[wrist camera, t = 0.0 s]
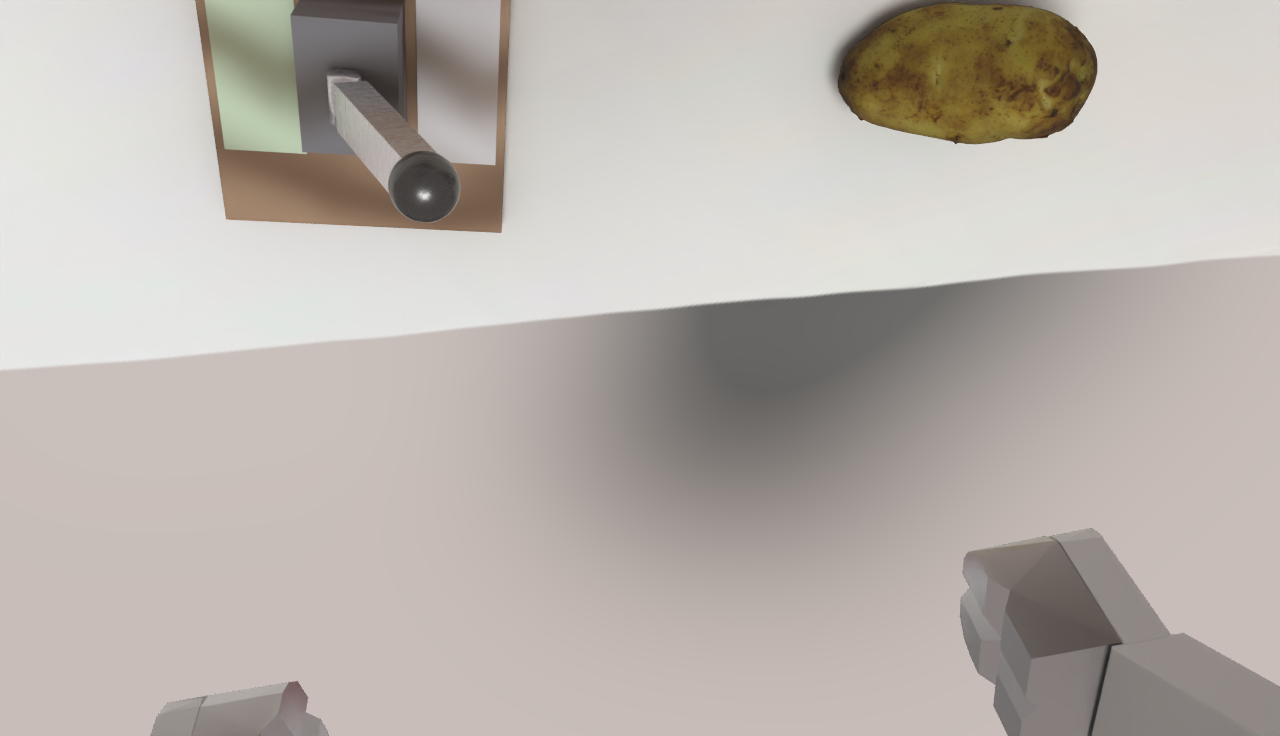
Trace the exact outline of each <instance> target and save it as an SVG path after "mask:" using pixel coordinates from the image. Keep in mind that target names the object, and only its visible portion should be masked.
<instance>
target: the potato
mask: <svg viewBox="0 0 1280 736" xmlns="http://www.w3.org/2000/svg"><path fill="white" fill-rule="evenodd" d="M1096 75H1097V57H1096V54H1095V51H1094V49H1093V47H1092V45H1091V44H1090V43H1089V41H1088V40H1087V38H1086V37H1085V35H1084V34H1083V33H1082V32H1081V31H1080V30H1079V29H1078V27H1075V26H1073V25H1072V24H1071V23H1070V22H1069V21H1067V20H1065V19H1064V18H1062V17H1060V16H1059V15H1056V14H1055V13H1052V12H1049V11H1046V10H1042V9H1038V8H1034V7H1032V6H1031V7H1026V6H1017V5H1004V4H984V5H969V4H963V3H941V4H936V5H931V6H927V7H922V8H918V9H914V10H911V11H908V12H905V13H903V14H900V15H898V16H896V17H894V18H892V19H890V20H888V21H887V22H885V23H883V24H882V25H880V26H879V27H878V28H876V29H875V30H874V31H873V32H871V33H870V34H869V35H868V36H867V37H865V38H864V39H863V40H862V41H860V42H859V43H858V44H857V45H856V46H855V47H854V48H853V49H852V50H851V51H850V52H849V53H848V54H847V56H846V57H845V59H844V61H843V64H842V67H841V71H840V75H839V79H838V89H839V92H840V94H841V96H842V98H843V100H844V101H845V103H846V104H847V105H848V106H849V107H850V109H851V111H852V112H853V113H854V114H856V115H857V116H858V118H859V119H860V120H865V121H867V122H870V123H872V124H875V125H878V126H882V127H886V128H890V129H894V130H898V131H902V132H907V133H912V134H917V135H923V136H928V137H933V138H938V139H943V140H948V141H953V142H954V143H955V144H957V143H965V144H983V143H991V142H997V141H1001V140H1004V139H1007V138H1014V139H1035V138H1046V137H1048V136H1049V135H1051V134H1053V133H1055V132H1060V131H1062V130H1063V129H1065V128H1066V127H1067V126H1069V125H1070V124H1071V123H1073V121H1074V118H1075V117H1076V116H1077V114H1078V113H1079V111H1080V110H1081V108H1082V107H1083V105H1084V104H1085V102H1086V100H1087V98H1088V96H1089V94H1090V92H1091V90H1092V88H1093V86H1094V83H1095V79H1096Z"/></svg>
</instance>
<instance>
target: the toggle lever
mask: <svg viewBox="0 0 1280 736" xmlns="http://www.w3.org/2000/svg"><path fill="white" fill-rule="evenodd" d="M327 88H328V103H329V117H330V123H331V124H332V125H333V126H336V127H337V132H338V133H339V134H340V135H341V137H342V138H343V139H344V140H345V141H346V143H347V144H348V145H349V146H350V147H351V149H352V150H353V151H354V152H355V153H356V155H357V156H358V157H359V158H360V159H361V161H362V162H363V163H364V164H365V165H366V167H367V168H368V169H369V170H370V171H371V173H372V174H373V175H374V176H375V177H376V179H377V180H378V181H379V182H380V183H381V185H382V186H383V187H384V188H385V189H386V191H387V192H388V193H389V195H390V198H391V200H392V202H393V204H394V206H395V207H396V209H397V210H398V211H399V212H400V213H401V214H402V215H404V216H405V217H407V218H409V219H411V220H413V221H417V222H422V223H430V222H435V221H438V220H441V219H443V218H444V217H446V216H447V215H449V214H450V213H451V212H452V210H453V209H454V208H455V206H456V205H457V203H458V200H459V197H460V191H461V185H460V179H459V176H458V173H457V171H456V169H455V168H454V167H453V165H452V164H451V163H450V162H449V161H448V160H447V159H446V158H444V157H443V156H441V155H439V154H438V153H437V152H436V151H435V150H434V149H433V148H432V147H431V146H430V145H429V144H428V143H427V142H426V141H425V140H424V139H423V138H422V137H421V136H420V135H419V134H418V133H417V132H416V131H415V130H414V129H413V128H412V127H411V125H410V124H409V123H408V122H407V121H406V120H405V119H404V118H403V117H402V116H401V115H400V114H399V113H398V112H397V111H396V110H395V109H394V108H393V107H392V106H391V105H390V104H389V103H388V102H387V101H386V100H385V99H384V98H383V97H382V96H381V95H380V94H379V93H378V92H377V91H376V90H375V89H374V88H373V87H372V86H371V85H370V83H369V82H368V81H361V75H360V73H358V72H356V71H353V70H348V69H337V70H332V71H329V72H328V73H327Z"/></svg>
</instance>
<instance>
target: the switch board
mask: <svg viewBox="0 0 1280 736" xmlns="http://www.w3.org/2000/svg"><path fill="white" fill-rule="evenodd" d="M195 1H196V8H197V15H198V22H199V29H200V36H201V43H202V50H203V57H204V65H205V72H206V79H207V86H208V93H209V100H210V107H211V114H212V121H213V129H214V136H215V143H216V150H217V157H218V164H219V171H220V178H221V185H222V193H223V200H224V207H225V214H226V219H229V220H250V221H270V222H291V223H311V224H332V225H352V226H373V227H393V228H414V229H434V230H455V231H475V232H496V233H501V230H502V204H503V178H504V152H505V125H506V99H507V73H508V47H509V20H510V0H195ZM337 69H348V70H353V71H356V72H358V73H360V75H361V81H368V82H369V83H370V85H371V86H372V87H373V88H374V89H375V90H376V91H377V92H378V93H379V94H380V95H381V96H382V97H383V98H384V99H385V100H386V101H387V102H388V103H389V104H390V105H391V106H392V107H393V108H394V109H395V110H396V111H397V112H398V113H399V114H400V115H401V116H402V117H403V118H404V119H405V120H406V121H407V122H408V123H409V124H410V125H411V127H412V128H413V129H414V130H415V131H416V132H417V133H418V134H419V135H420V136H421V137H422V138H423V139H424V140H425V141H426V142H427V143H428V144H429V145H430V146H431V147H432V148H433V149H434V150H435V151H436V152H437V153H438V154H439V155H441V156H443V157H444V158H446V159H447V160H448V161H449V162H450V163H451V164H452V165H453V167H454V168H455V169H456V171H457V173H458V176H459V179H460V185H461V191H460V197H459V200H458V203H457V205H456V206H455V208H454V209H453V210H452V212H451V213H450V214H449V215H447V216H446V217H444V218H443V219H441V220H438V221H435V222H430V223H422V222H417V221H413V220H411V219H409V218H407V217H405V216H404V215H402V214H401V213H400V212H399V211H398V210H397V209H396V207H395V206H394V204H393V202H392V200H391V198H390V195H389V193H388V192H387V191H386V189H385V188H384V187H383V186H382V185H381V183H380V182H379V181H378V180H377V179H376V177H375V176H374V175H373V174H372V173H371V171H370V170H369V169H368V168H367V167H366V165H365V164H364V163H363V162H362V161H361V159H360V158H359V157H358V156H357V155H356V153H355V152H354V151H353V150H352V149H351V147H350V146H349V145H348V144H347V143H346V141H345V140H344V139H343V138H342V137H341V135H340V134H339V133H338V132H337V127H336V126H333V125H332V124H331V123H330V117H329V103H328V88H327V73H328V72H329V71H332V70H337Z"/></svg>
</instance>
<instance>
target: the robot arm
mask: <svg viewBox="0 0 1280 736" xmlns="http://www.w3.org/2000/svg"><path fill="white" fill-rule="evenodd" d="M963 575H964V577H965V579H966V581H967V583H968V585H969V587H970V588H969V589H968V590H967V591H966V593H964V595H963V596H962V597H961V606H960V618H961V624H962V629H963V635H964V639H965V642H966V645H967V648H968V650H969V654H970V656H971V659H972V661H973V663H974V665H975V667H976V670H977V672H978V673H979V674H980V675H981V676H983V677H985V678H986V679H987V680H989V681H990V682H992V683H993V684H995V685H996V687H995V695H994V708H995V710H996V712H997V714H998V716H999V718H1000V720H1001V722H1002V724H1003V726H1004V728H1005V731H1006V733H1007V735H1008V736H1280V686H1278V685H1276V684H1274V683H1273V682H1271V681H1269V680H1267V679H1265V678H1264V677H1262V676H1260V675H1258V674H1257V673H1255V672H1253V671H1251V670H1249V669H1248V668H1246V667H1244V666H1242V665H1240V664H1239V663H1237V662H1235V661H1233V660H1231V659H1230V658H1228V657H1226V656H1224V655H1222V654H1221V653H1219V652H1217V651H1215V650H1214V649H1212V648H1210V647H1208V646H1206V645H1205V644H1203V643H1201V642H1199V641H1197V640H1195V639H1194V638H1192V637H1190V636H1188V635H1187V634H1185V633H1180V634H1173V635H1171V634H1170V633H1169V631H1168V630H1167V628H1166V627H1165V625H1164V624H1163V623H1162V621H1161V620H1160V618H1159V617H1158V615H1157V614H1156V613H1155V611H1154V610H1153V608H1152V607H1151V606H1150V604H1149V603H1148V601H1147V600H1146V598H1145V597H1144V595H1143V594H1142V593H1141V591H1140V590H1139V588H1138V587H1137V585H1136V584H1135V583H1134V581H1133V580H1132V578H1131V577H1130V575H1129V574H1128V573H1127V571H1126V570H1125V568H1124V567H1123V565H1122V564H1121V563H1120V561H1119V560H1118V558H1117V557H1116V555H1115V554H1114V553H1113V551H1112V550H1111V548H1110V547H1109V545H1108V544H1107V543H1106V541H1105V540H1104V538H1103V537H1102V535H1101V534H1100V533H1098V532H1097V531H1095V530H1094V529H1092V528H1090V529H1084V530H1079V531H1073V532H1069V533H1063V534H1058V535H1053V536H1049V537H1046V536H1043V537H1038V538H1033V539H1028V540H1023V541H1019V542H1013V543H1009V544H1003V545H999V546H994V547H989V548H984V549H979V550H974V551H969V552H968V553H967V554H966V556H965V558H964V563H963ZM307 701H308V697H307V695H306V693H305V692H304V690H303V689H302V688H301V686H300V684H299V683H298V681H296V682H288V683H281V684H276V685H269V686H263V687H257V688H251V689H245V690H239V691H232V692H226V693H220V694H215V695H209V696H203V697H197V698H192V699H186V700H180V701H175V702H170V703H167V704H166V705H165V706H164V708H163V709H162V710H161V712H160V713H159V714H158V716H157V717H156V721H155V723H154V726H153V729H152V733H151V735H150V736H329V734H328V731H327V729H326V728H325V726H324V724H323V722H322V720H321V719H319V718H317V717H315V716H313V715H310V714H308V713H306V706H307Z"/></svg>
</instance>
